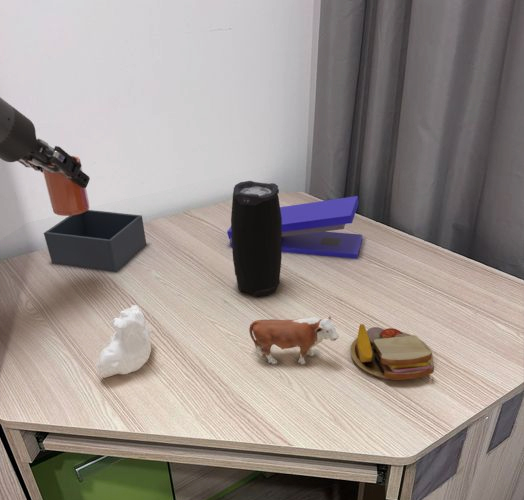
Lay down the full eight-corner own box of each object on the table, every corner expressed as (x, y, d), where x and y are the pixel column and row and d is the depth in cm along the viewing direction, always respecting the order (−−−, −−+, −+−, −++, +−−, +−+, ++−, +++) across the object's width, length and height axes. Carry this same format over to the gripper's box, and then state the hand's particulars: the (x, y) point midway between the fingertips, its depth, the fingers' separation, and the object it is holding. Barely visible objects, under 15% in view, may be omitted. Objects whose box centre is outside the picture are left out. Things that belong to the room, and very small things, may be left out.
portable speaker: (287, 281, 105) (289, 181, 93) (269, 304, 98) (268, 200, 86) (247, 273, 107) (244, 175, 96) (227, 295, 101) (220, 193, 89)
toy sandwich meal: (422, 335, 89) (426, 311, 86) (441, 388, 78) (447, 362, 75) (346, 335, 89) (348, 311, 86) (355, 388, 78) (357, 362, 76)
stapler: (356, 261, 111) (361, 215, 105) (226, 249, 117) (224, 205, 111) (362, 238, 120) (366, 195, 114) (241, 228, 126) (239, 186, 120)
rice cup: (45, 213, 95) (33, 165, 90) (66, 201, 100) (55, 154, 95) (77, 217, 93) (65, 168, 88) (96, 204, 98) (86, 157, 93)
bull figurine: (335, 372, 82) (339, 327, 77) (248, 364, 83) (246, 320, 79) (337, 354, 85) (340, 311, 80) (253, 348, 87) (252, 305, 82)
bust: (112, 399, 81) (143, 362, 73) (72, 366, 80) (99, 325, 72) (154, 354, 90) (184, 317, 82) (118, 324, 89) (146, 284, 81)
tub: (52, 264, 112) (43, 232, 108) (86, 238, 122) (79, 208, 118) (117, 273, 109) (110, 241, 104) (146, 246, 119) (142, 215, 115)
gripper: (35, 106, 77) (110, 166, 92) (-26, 96, 83) (53, 154, 98) (15, 154, 77) (93, 206, 92) (-46, 140, 83) (37, 191, 98)
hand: (72, 179), depth 95 cm, fingers closed on rice cup, 6 cm apart
